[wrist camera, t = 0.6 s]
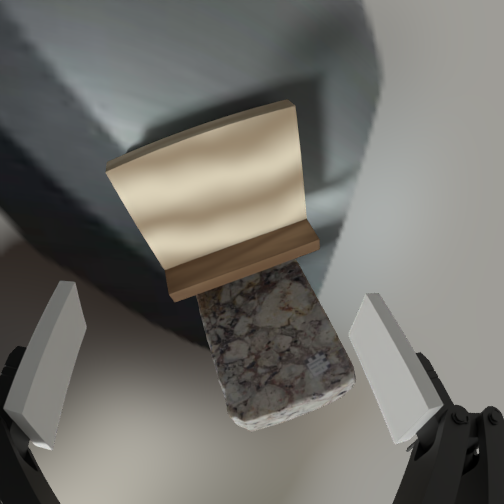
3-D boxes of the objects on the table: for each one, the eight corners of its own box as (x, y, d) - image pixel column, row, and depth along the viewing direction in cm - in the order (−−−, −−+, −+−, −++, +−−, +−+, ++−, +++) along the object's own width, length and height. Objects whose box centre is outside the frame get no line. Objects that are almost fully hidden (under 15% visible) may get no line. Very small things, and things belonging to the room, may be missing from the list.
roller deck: (109, 145, 24) (103, 195, 19) (274, 87, 25) (312, 121, 20) (165, 247, 35) (174, 302, 30) (290, 202, 36) (319, 249, 31)
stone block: (283, 228, 39) (361, 378, 26) (293, 260, 44) (358, 392, 31) (185, 272, 39) (227, 431, 26) (206, 298, 44) (248, 436, 32)
